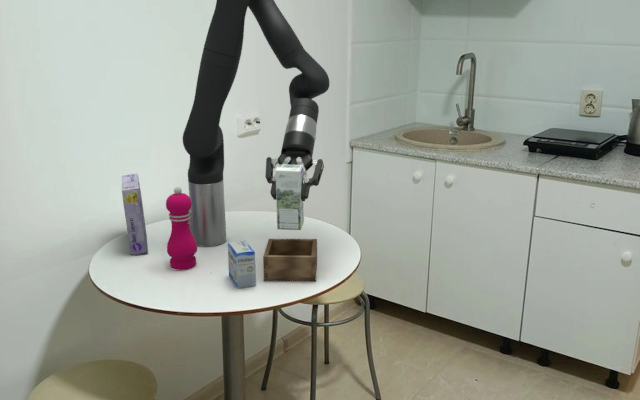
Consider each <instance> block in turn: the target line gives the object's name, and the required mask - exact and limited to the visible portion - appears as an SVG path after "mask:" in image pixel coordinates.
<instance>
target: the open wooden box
mask: <svg viewBox="0 0 640 400" xmlns="http://www.w3.org/2000/svg"><path fill="white" fill-rule="evenodd" d="M264 249H265V250H264V253H263V256H262V260H263V261H262V264H263V265H262V266H263V281H264V282H316V281H317V270H318V269H317V268H318V239H317V238H268V240H267V243H266V247H265V248H264Z"/></svg>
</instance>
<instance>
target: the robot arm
mask: <svg viewBox="0 0 640 400" xmlns="http://www.w3.org/2000/svg"><path fill="white" fill-rule="evenodd" d="M248 8H249V10H250V12H251V13H252V15H253V16H254V18H255V20H256V21H257V24H258V25H259V28H260V29H261V32H262V34H263V36H264V38H265V40H266V42H267V43H268V46H269V47H270V49H271V50H272V52H273V54H274V55H275V57H276V59H277V60H278V62H279V64H280V65H281V67H282V68H283V69H286V70H289V69H297V70H298V71H300V72H301V73H299V74H296V76H294V77H293V78H292V80H291V81H290V83H289V86H288V92H289V103H290V111H289V115H288V121H287V123H286V127H285V131H284V135H283V142H282V146H281V152H280V154H279V156H278V157H277V158H272V157H270V156H268V157H266V159H265V160H266V161H265V164H266V165H265V176H264V177H265V179H266V181H267V184H271V187H270V191H269V192H270V195H271V198H273V200H275V201H276V173H275V174H274V169H275V168H277V167H276V166H279V165H303V171H302V177H303V185H302V191H301V201H303V202H306V200H308V198H309V194H310V189H311V187H312V186H315V187H317V186H319V184H320V181H321V178H322V175H323V172H324V168H325V166H324V165H325V164H324V161H323V159H322V158H318V160H316V159H313V155H314V148H315V143H316V138H317V125H318V124H317V123H318V120H319V111H320V110H319V104H318V103H317V102H316V100H314V98H316V97H319V96H321V95H323V94H325V93H326V92H327V91H328V90H329V88H330V78H329V75H328V73H327V72H326V70H325V68H323V67H322V65H321V64H320V63H319V62H318V61H317V60H316V59H315V58H313V56H312V55H310V53H309V52H307V51H306V49H305V48H304V46H303V44H302V42H301V41H300V39H299V38H298V36H297V34H296V32H295V31H294V29H293V28H292V25H291V24H290V23H289V22H288V20H287V18H285V16H284V14H283V13H282V12H281V11H282V10H280V9H279V7H278V5H277V4H276V2H275V0H216V3H215V8H214V10H213V14H212V18H211V20H210V23H209V27H208V30H207V34H206V38H205V41H204V44H203V49H202V54H201V59H200V63H199V69H198V70H199V71H198V75H197V80H196V87H195V93H194V98H193V103H192V107H191V110H190V113H189V116H188V120H187V121H186V125H185V128H184V129H183V134H182V145H183V147H184V150H185V151H186V153H187V154H188V155H189V165H188V169H187V181H188V182H187V183H188V194H189V195H188V196H189V197H190V199H191V202H192V206H191V208H190V210H189V212H190V219H189V227H190V231H191V233H192V235H193V237H194V239H195V241H196V244H197V247H215V246H219V245H222V244H224V243H226V241H227V226H226V225H227V224H226V208H225V207H226V206H225V202H226V201H225V189H224V187H225V185H224V183H225V182H224V171H225V169H224V168H225V145H224V143H225V142H224V133H223V130H222V127H221V126H220V123H221V117H222V112H223V108H224V105H225V103H226V101H227V98H228V96H229V94H230V91H231V89H232V87H233V84H234V81H235V78H236V75H237V73H238V69H239V65H240V60H241V56H242V52H243V51H242V50H243V43H244V37H245V36H244V33H245V22H246V21H245V20H246V19H245V18H246V15H247V10H248ZM312 167H313V170H314V172H313V175H312V177H310V178H309V175H308V173H307V171H309V170H310V168H312Z"/></svg>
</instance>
